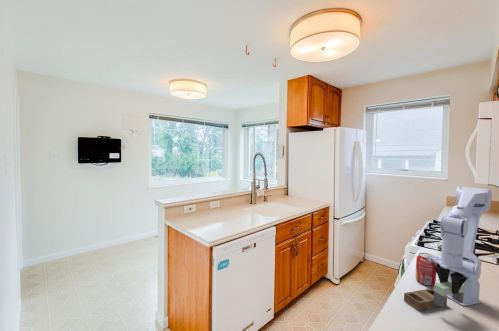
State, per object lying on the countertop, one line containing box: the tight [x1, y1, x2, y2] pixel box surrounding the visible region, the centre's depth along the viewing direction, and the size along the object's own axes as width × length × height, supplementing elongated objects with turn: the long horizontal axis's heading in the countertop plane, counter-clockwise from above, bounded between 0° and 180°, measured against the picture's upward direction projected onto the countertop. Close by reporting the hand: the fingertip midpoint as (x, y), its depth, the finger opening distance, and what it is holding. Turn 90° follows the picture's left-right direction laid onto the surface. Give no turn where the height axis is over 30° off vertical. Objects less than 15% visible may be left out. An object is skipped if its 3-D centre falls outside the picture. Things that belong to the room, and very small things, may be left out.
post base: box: [403, 288, 448, 312], centre depth 87 cm, size 13×6×3 cm, turn 105°
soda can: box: [415, 252, 437, 287], centre depth 101 cm, size 7×7×12 cm
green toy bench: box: [433, 281, 465, 308], centre depth 81 cm, size 10×3×6 cm, turn 105°
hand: (449, 290), depth 81 cm, fingers closed on green toy bench, 3 cm apart
